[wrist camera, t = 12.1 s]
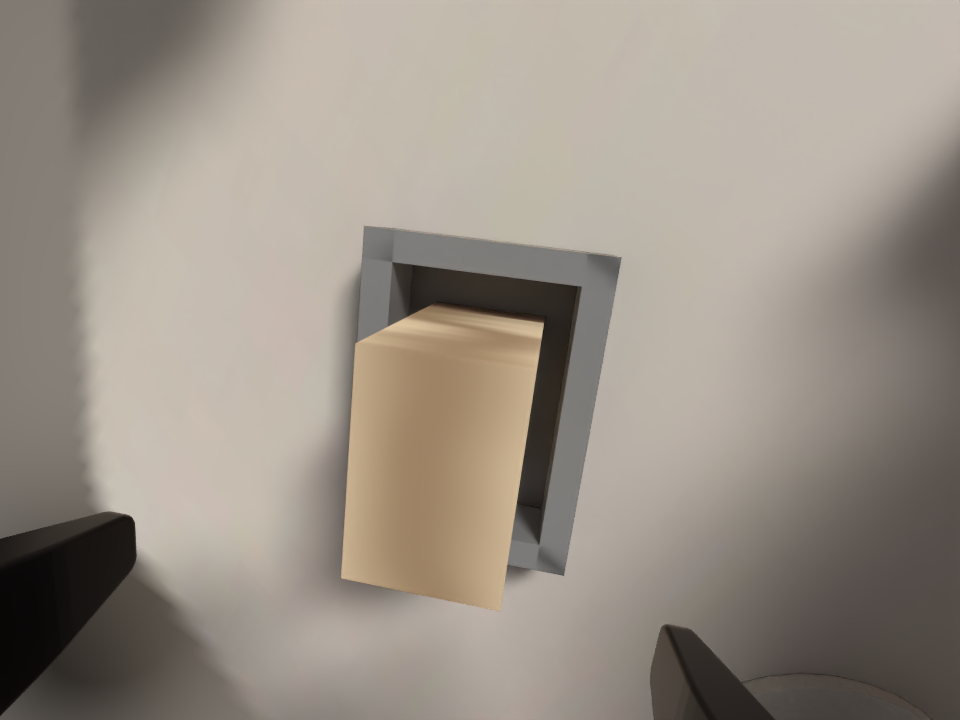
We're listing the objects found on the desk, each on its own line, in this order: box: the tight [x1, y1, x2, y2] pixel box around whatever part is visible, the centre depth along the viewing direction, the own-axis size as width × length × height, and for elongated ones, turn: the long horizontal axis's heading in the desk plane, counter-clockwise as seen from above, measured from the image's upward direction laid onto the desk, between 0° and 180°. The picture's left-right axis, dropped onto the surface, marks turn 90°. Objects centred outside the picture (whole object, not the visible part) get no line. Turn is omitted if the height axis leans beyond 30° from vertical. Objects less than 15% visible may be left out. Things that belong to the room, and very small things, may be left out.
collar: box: [357, 226, 621, 576], centre depth 18 cm, size 11×8×2 cm
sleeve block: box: [341, 302, 545, 611], centre depth 16 cm, size 4×6×8 cm, turn 173°
